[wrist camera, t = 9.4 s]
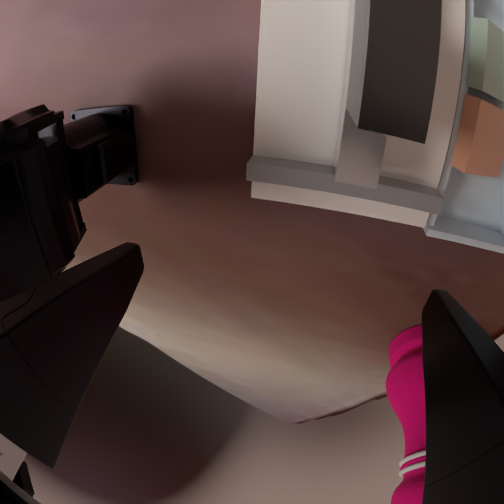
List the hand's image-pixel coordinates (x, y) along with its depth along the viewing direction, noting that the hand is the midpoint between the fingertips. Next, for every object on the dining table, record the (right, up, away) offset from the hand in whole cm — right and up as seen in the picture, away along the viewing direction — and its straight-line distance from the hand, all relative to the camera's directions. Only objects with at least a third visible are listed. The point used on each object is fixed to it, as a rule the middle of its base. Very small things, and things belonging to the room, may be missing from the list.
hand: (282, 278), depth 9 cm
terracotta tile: (+13, +8, +5) cm, 16 cm away
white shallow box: (+6, +12, +6) cm, 15 cm away
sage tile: (+13, +12, +2) cm, 18 cm away
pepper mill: (+16, -8, +18) cm, 25 cm away
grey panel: (+5, +10, +4) cm, 12 cm away
